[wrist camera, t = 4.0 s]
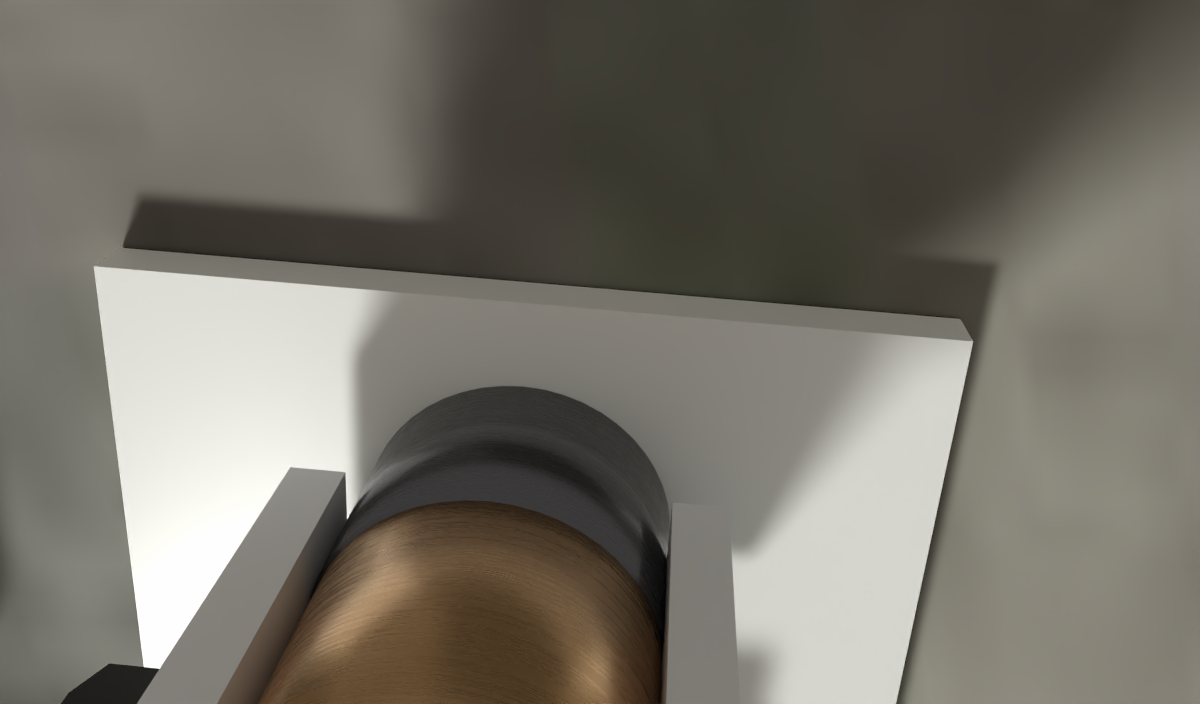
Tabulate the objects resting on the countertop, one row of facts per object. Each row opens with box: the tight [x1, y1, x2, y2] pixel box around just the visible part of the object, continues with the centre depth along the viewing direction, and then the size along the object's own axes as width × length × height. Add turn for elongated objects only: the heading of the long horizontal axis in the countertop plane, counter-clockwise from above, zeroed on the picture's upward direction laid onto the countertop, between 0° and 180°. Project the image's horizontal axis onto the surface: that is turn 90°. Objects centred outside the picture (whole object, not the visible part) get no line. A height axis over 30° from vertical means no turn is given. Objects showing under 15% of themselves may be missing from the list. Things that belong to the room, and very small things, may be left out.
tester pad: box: [94, 248, 973, 704], centre depth 17 cm, size 12×10×3 cm
